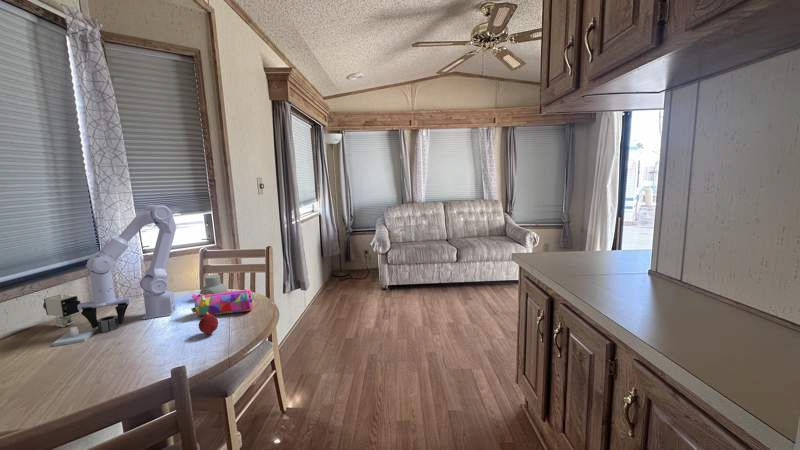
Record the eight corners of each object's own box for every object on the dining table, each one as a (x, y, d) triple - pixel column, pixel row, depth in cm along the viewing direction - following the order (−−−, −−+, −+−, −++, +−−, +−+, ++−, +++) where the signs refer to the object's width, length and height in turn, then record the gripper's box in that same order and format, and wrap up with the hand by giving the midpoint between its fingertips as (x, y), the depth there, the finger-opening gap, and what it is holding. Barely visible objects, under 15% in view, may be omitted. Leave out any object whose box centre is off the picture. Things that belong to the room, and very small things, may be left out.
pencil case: (190, 321, 123) (188, 298, 122) (198, 311, 132) (196, 290, 131) (252, 314, 129) (250, 292, 128) (256, 305, 138) (254, 285, 137)
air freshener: (231, 294, 152) (229, 274, 150) (218, 301, 144) (216, 279, 142) (211, 293, 154) (209, 273, 153) (197, 299, 146) (194, 278, 144)
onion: (222, 332, 113) (220, 310, 112) (207, 339, 108) (204, 316, 107) (211, 329, 116) (209, 308, 115) (196, 336, 111) (193, 314, 109)
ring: (121, 324, 121) (119, 314, 120) (115, 330, 116) (113, 320, 115) (102, 327, 119) (101, 317, 118) (95, 333, 114) (94, 322, 113)
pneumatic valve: (69, 329, 117) (64, 297, 116) (45, 326, 120) (40, 295, 118) (86, 323, 123) (82, 292, 121) (64, 320, 125) (59, 290, 124)
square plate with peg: (95, 331, 115) (94, 320, 115) (84, 341, 108) (83, 330, 108) (66, 335, 112) (64, 325, 112) (52, 346, 105) (50, 334, 105)
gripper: (70, 295, 109) (76, 333, 111) (124, 289, 114) (129, 326, 116) (81, 289, 115) (86, 325, 117) (131, 283, 121) (136, 318, 123)
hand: (108, 325), depth 117 cm, fingers open, 7 cm apart
